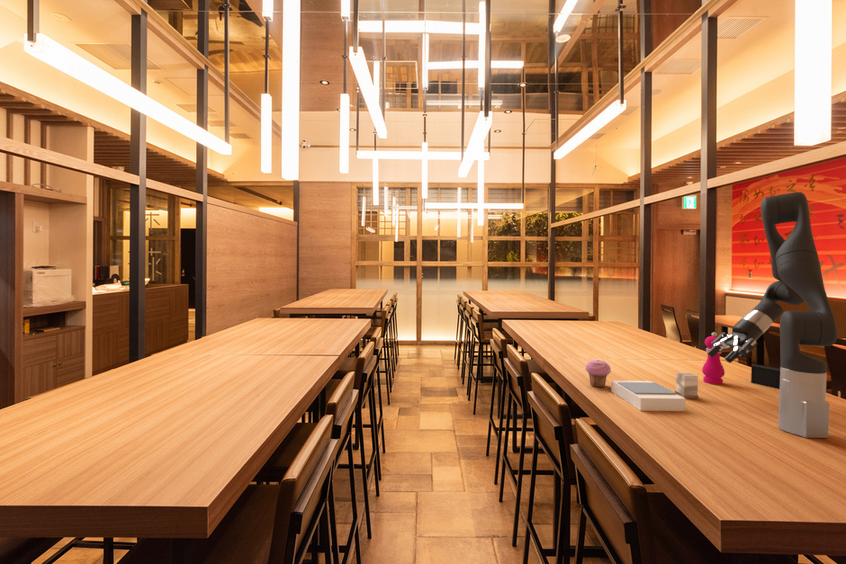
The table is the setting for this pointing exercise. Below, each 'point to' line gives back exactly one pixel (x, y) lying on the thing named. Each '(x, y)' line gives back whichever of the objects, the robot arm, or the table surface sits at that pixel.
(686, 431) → the table surface
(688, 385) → the memo note cube
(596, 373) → the cupcake
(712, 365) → the pepper mill
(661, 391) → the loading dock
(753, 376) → the digital camera
